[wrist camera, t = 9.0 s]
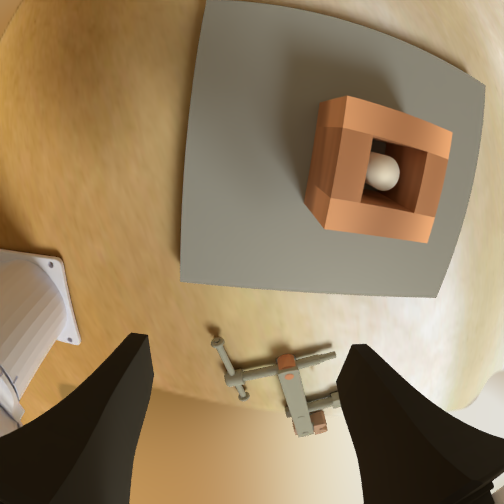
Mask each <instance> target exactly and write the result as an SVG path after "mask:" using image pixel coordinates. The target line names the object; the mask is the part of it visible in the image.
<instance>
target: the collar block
mask: <svg viewBox="0 0 504 504" xmlns="http://www.w3.org/2000/svg"><path fill="white" fill-rule="evenodd" d="M452 134H453V132H451V131H448V130H446V129H444V128H441V127H439V126H437V125H434V124H432V123H429V122H427V121H424V120H422V119H419V118H417V117H414V116H411V115H409V114H406V113H403V112H400V111H397V110H394V109H391V108H388V107H385V106H382V105H379V104H376V103H372V102H369V101H366V100H362V99H359V98H355V97H351V96H343V97H339V98H335V99H331V100H327V101H323V102H320V104H319V111H318V118H317V125H316V132H315V138H314V145H313V151H312V158H311V164H310V170H309V176H308V182H307V188H306V194H305V199H304V204H305V205H306V207H307V208H308V209H309V210H310V212H311V213H312V214H313V215H314V217H315V218H316V219H317V221H318V222H319V223H320V224H321V226H322V227H323V228H324V229H326V230H334V231H342V232H350V233H358V234H365V235H373V236H380V237H387V238H394V239H401V240H408V241H414V242H421V243H428V239H429V236H430V233H431V230H432V226H433V223H434V219H435V215H436V212H437V208H438V204H439V200H440V196H441V192H442V188H443V183H444V179H445V174H446V169H447V164H448V158H449V153H450V147H451V141H452ZM372 139H373V140H377V141H380V142H384V143H386V149H385V155H386V156H390V157H392V158H393V159H394V160H395V161H396V162H397V164H398V166H399V171H400V174H399V179H398V182H397V183H396V185H395V186H394V187H393V188H391V189H389V190H386V191H381V190H377V191H372V190H367V189H363V188H364V183H365V178H366V173H367V168H368V162H369V157H370V151H371V145H372Z"/></svg>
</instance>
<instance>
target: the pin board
mask: <svg viewBox="0 0 504 504" xmlns="http://www.w3.org/2000/svg"><path fill="white" fill-rule="evenodd" d="M343 96H351V97H355V98H359V99H362V100H366V101H369V102H372V103H376V104H379V105H382V106H385V107H388V108H391V109H394V110H397V111H400V112H403V113H406V114H409V115H411V116H414V117H417V118H419V119H422V120H424V121H427V122H429V123H432V124H434V125H437V126H439V127H441V128H444V129H446V130H448V131H451V132H453V134H452V141H451V147H450V153H449V158H448V164H447V169H446V174H445V179H444V183H443V188H442V192H441V196H440V200H439V204H438V208H437V212H436V215H435V219H434V223H433V226H432V230H431V233H430V236H429V239H428V243H421V242H414V241H408V240H401V239H394V238H387V237H380V236H373V235H365V234H358V233H350V232H342V231H334V230H326V229H324V228H323V227H322V226H321V224H320V223H319V222H318V221H317V219H316V218H315V217H314V215H313V214H312V213H311V212H310V210H309V209H308V208H307V207H306V205H305V204H304V199H305V194H306V188H307V182H308V176H309V170H310V164H311V158H312V151H313V145H314V138H315V132H316V125H317V118H318V111H319V104H320V102H323V101H327V100H331V99H335V98H339V97H343ZM484 103H485V85H484V84H483V83H481V82H479V81H478V80H476V79H475V78H473V77H472V76H470V75H468V74H467V73H465V72H463V71H462V70H460V69H458V68H457V67H455V66H453V65H451V64H449V63H448V62H446V61H444V60H442V59H440V58H438V57H436V56H434V55H432V54H430V53H428V52H426V51H424V50H422V49H420V48H418V47H416V46H413V45H411V44H409V43H407V42H404V41H402V40H400V39H397V38H395V37H392V36H390V35H387V34H384V33H382V32H379V31H376V30H374V29H371V28H368V27H365V26H362V25H359V24H356V23H352V22H349V21H346V20H342V19H339V18H335V17H331V16H327V15H323V14H319V13H315V12H310V11H306V10H301V9H296V8H290V7H284V6H278V5H271V4H264V3H255V2H245V1H232V0H207V1H206V6H205V11H204V16H203V21H202V27H201V33H200V38H199V44H198V51H197V57H196V64H195V71H194V78H193V86H192V94H191V102H190V111H189V120H188V130H187V141H186V152H185V165H184V180H183V197H182V218H181V252H180V282H187V283H197V284H208V285H218V286H230V287H241V288H253V289H266V290H279V291H294V292H309V293H326V294H344V295H365V296H391V297H426V298H436V297H437V294H438V292H439V290H440V287H441V285H442V282H443V280H444V277H445V275H446V272H447V269H448V267H449V264H450V261H451V258H452V256H453V253H454V250H455V247H456V244H457V241H458V237H459V234H460V231H461V228H462V224H463V221H464V217H465V214H466V210H467V206H468V202H469V198H470V194H471V190H472V185H473V181H474V176H475V171H476V166H477V160H478V154H479V148H480V141H481V134H482V126H483V116H484ZM385 149H386V143H384V142H380V141H377V140H373V139H372V145H371V151H370V157H369V162H368V168H367V173H366V178H365V183H364V188H363V189H367V190H372V191H377V190H381V191H386V190H389V189H391V188H393V187H394V186H395V185H396V183H397V182H398V179H399V174H400V171H399V166H398V164H397V162H396V161H395V160H394V159H393V158H392V157H390V156H386V155H385Z"/></svg>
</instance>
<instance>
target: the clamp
mask: <svg viewBox="0 0 504 504" xmlns="http://www.w3.org/2000/svg"><path fill="white" fill-rule="evenodd" d="M223 344H224V339H223V338H221V337H217V338H214V339H213V340H212V341H211V346H212V347H214V348H216V349H217V351H218V353H219V355H220V357H221V359H222V361H223V363H224V365H225V367H226V369H227V371H226V373H225V375H224V377H225V382H226V384H227V386H229V387H232V386H235V387H236V389H237V390H238V392H239V396H238V398H239V400H241V401H246V400H248V399H249V397H250V395H249V393H248V392H245V391H244V389H243V387H242V385H243V384H245V381H247V380H253V379H258V378H262V377H267V376H272V375H276V374H278V377H279V380H280V383H281V386H282V389H283V392H284V395H285V398H286V401H287V404H288V407H285V412H286V416H287V417H292V419H293V420H292V422H293V427H294V432H295V434H296V435H298V437H303V436H307V435H311V434H314V432H315V434H320V433H323V432H326V431H327V426H326V425H327V423H326V420H325V416H324V412H323V411H319V412H315V413H311V414H309V412H312V411H316V410H320V409H324V408H328V407H331V406H333V408H337V407H341V405H340V400H339V395H338V392H335V393H331V397H327V398H324V399H320V400H316V401H312V402H308V403H307V402H306V398H305V394H304V389H303V385H302V381H301V377H300V373H299V369H302V368H306V367H310V366H313V365H317V364H320V363H321V362H324V361H326V360H329V359H333V358H336V354H335V351H334V352H330V353H327V354H321V355H313V356H310V357H306V358H302V359H298V360H296V357H295V355H291V354H285V355H282V356H280V357H279V358H277V359H276V362H277V365H273V366H268V367H263V368H259V369H254V370H249V371H244V372H243V370H242V369H237V370H234V368H233V366H232V364H231V362H230V360H229V358H228V355H227V353H226V351H225V349H224V347H223Z"/></svg>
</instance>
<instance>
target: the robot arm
mask: <svg viewBox="0 0 504 504" xmlns="http://www.w3.org/2000/svg"><path fill="white" fill-rule="evenodd" d="M51 262H52V263H53V265H52V264H51ZM56 340H58V341H62V342H66V343H70V344H74V345H79V344H80V342H81V338H80V334H79V331H78V327H77V323H76V320H75V316H74V312H73V308H72V304H71V299H70V295H69V290H68V285H67V280H66V275H65V270H64V264H63V261H62V260H61V259H60V258H59V257H54V256H46V255H39V254H32V253H25V252H18V251H11V250H4V249H0V504H129V499H130V487H131V477H132V468H133V460H134V455H135V450H136V446H137V443H138V439H139V435H140V432H141V428H142V425H143V421H144V418H145V414H146V411H147V407H148V404H149V400H150V395H151V390H152V383H153V377H154V372H153V366H152V359H151V353H150V346H149V339H148V335H145V334H138V333H130V334H129V335H128V336H127V337H126V338H125V339H124V340H123V342H122V343H121V344H120V345H119V346H118V347H117V348H116V349H115V350H114V351H113V353H112V354H111V355H110V356H109V357H108V358H107V359H106V360H105V361H104V362H103V363H102V364H101V365H100V366H99V367H98V368H97V369H96V370H95V371H94V372H93V373H92V374H91V375H90V376H89V377H88V378H87V379H86V380H85V381H84V382H83V383H82V384H81V385H79V386H78V387H77V388H76V389H75V390H74V391H73V392H72V393H70V394H69V395H68V396H67V397H66V398H64V399H63V400H62V401H60V402H59V403H58V404H57V405H55V406H54V407H52V408H51V409H50V410H48V411H47V412H45V413H44V414H42V415H41V416H39V417H38V418H36V419H34V420H33V421H31V422H29V423H28V424H26V425H24V426H23V425H22V423H21V422H20V420H21V418H22V416H23V414H24V412H25V410H24V409H23V407H22V406H21V405H20V403H19V401H20V399H21V397H22V395H23V393H24V392H25V390H26V388H27V386H28V384H29V383H30V381H31V379H32V378H33V376H34V374H35V373H36V371H37V369H38V368H39V366H40V364H41V363H42V361H43V360H44V358H45V356H46V355H47V353H48V352H49V350H50V349H51V347H52V345H53V344H54V342H55V341H56ZM336 383H337V389H338V395H339V400H340V405H341V408H342V411H343V414H344V417H345V420H346V423H347V426H348V429H349V432H350V435H351V438H352V441H353V444H354V448H355V451H356V454H357V458H358V463H359V469H360V475H361V482H362V490H363V498H364V504H504V486H503V487H501V488H500V489H499V490H497V491H496V492H495V493H493V494H492V495H491V492H490V490H491V489H493V488H494V485H493V483H492V481H493V480H494V479H495V478H497V477H498V476H499V475H501V474H502V473H503V472H504V439H503V438H500V437H497V436H493V435H491V434H488V433H486V432H483V431H481V430H478V429H476V428H474V427H472V426H470V425H468V424H466V423H464V422H462V421H460V420H459V419H457V418H455V417H453V416H452V415H450V414H448V413H447V412H445V411H444V410H442V409H441V408H440V407H438V406H437V405H435V404H434V403H432V402H431V401H430V400H428V399H427V398H426V397H425V396H423V395H422V394H421V393H420V392H419V391H417V390H416V389H415V388H414V387H413V386H411V385H410V384H409V383H408V382H407V381H406V380H405V379H404V378H402V377H401V376H400V375H399V374H398V373H397V372H396V371H395V370H394V369H393V368H392V367H391V366H390V365H389V364H388V363H387V362H385V361H384V360H383V359H382V358H381V357H380V356H379V355H378V354H377V353H376V352H375V351H374V350H373V349H372V348H370V347H369V346H368V345H367V344H353V345H352V346H351V348H350V351H349V353H348V355H347V358H346V360H345V362H344V365H343V367H342V369H341V372H340V374H339V376H338V378H337V381H336Z"/></svg>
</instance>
